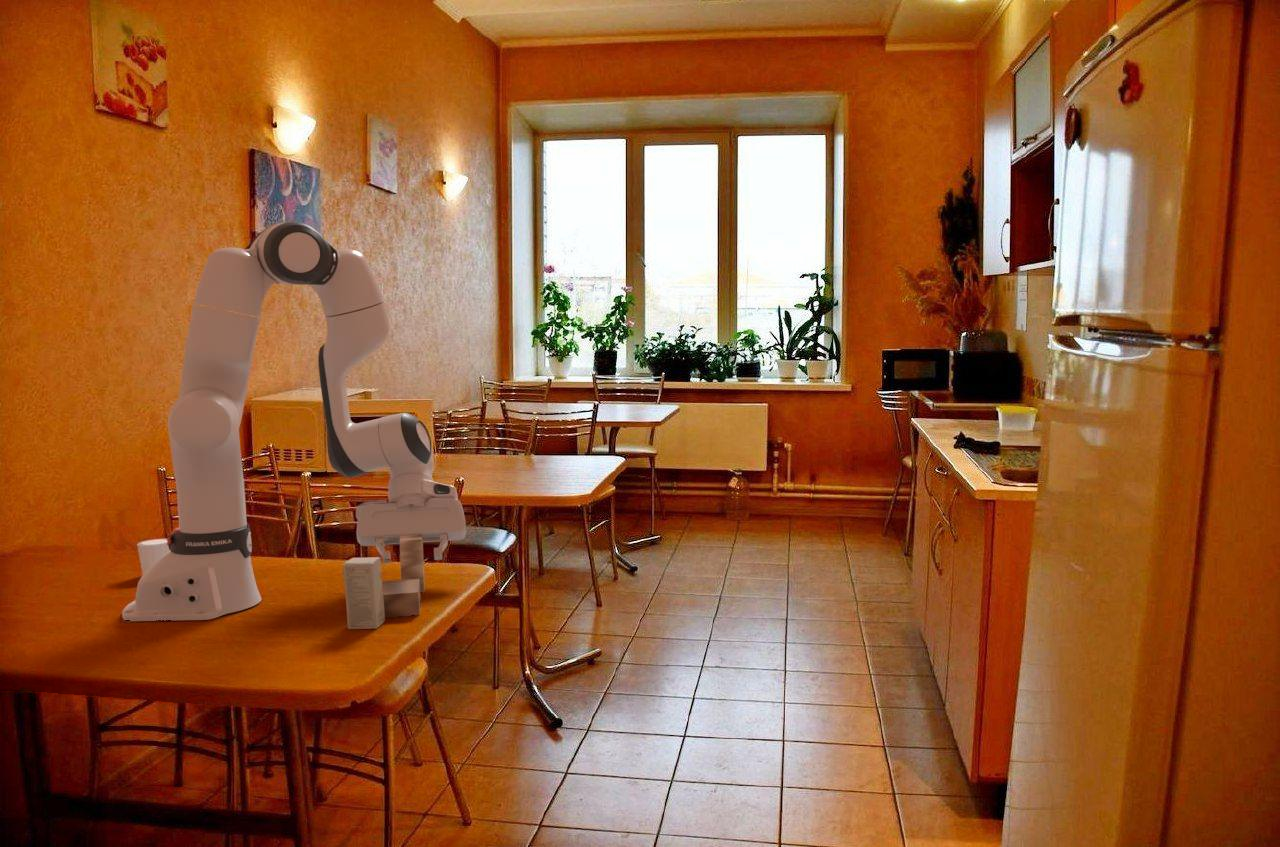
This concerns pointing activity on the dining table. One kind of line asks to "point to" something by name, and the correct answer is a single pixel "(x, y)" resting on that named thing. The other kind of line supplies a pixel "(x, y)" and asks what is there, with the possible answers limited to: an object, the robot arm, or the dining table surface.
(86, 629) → the dining table surface
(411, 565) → the oak post
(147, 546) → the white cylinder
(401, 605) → the light tan slab
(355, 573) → the box
